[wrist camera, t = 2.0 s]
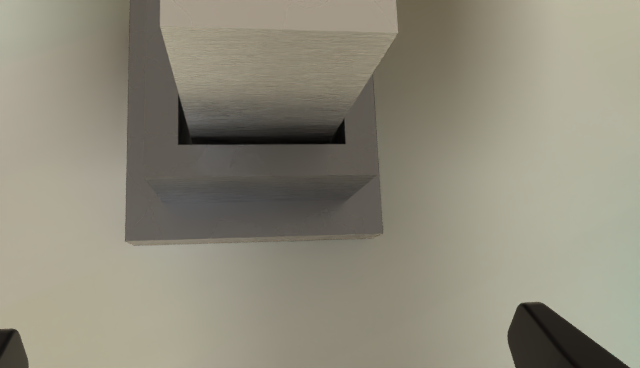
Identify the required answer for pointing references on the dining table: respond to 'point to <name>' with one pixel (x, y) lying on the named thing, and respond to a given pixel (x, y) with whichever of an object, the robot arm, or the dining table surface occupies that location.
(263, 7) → the column
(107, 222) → the dining table surface
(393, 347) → the dining table surface
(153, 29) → the stand base
